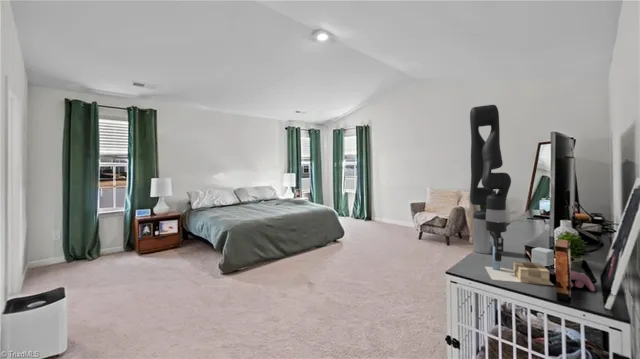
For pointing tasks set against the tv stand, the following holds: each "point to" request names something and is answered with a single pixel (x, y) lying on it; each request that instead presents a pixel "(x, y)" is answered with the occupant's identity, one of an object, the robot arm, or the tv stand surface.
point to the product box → (543, 256)
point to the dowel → (495, 263)
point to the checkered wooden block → (531, 273)
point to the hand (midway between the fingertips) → (496, 258)
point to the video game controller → (581, 280)
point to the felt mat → (504, 274)
